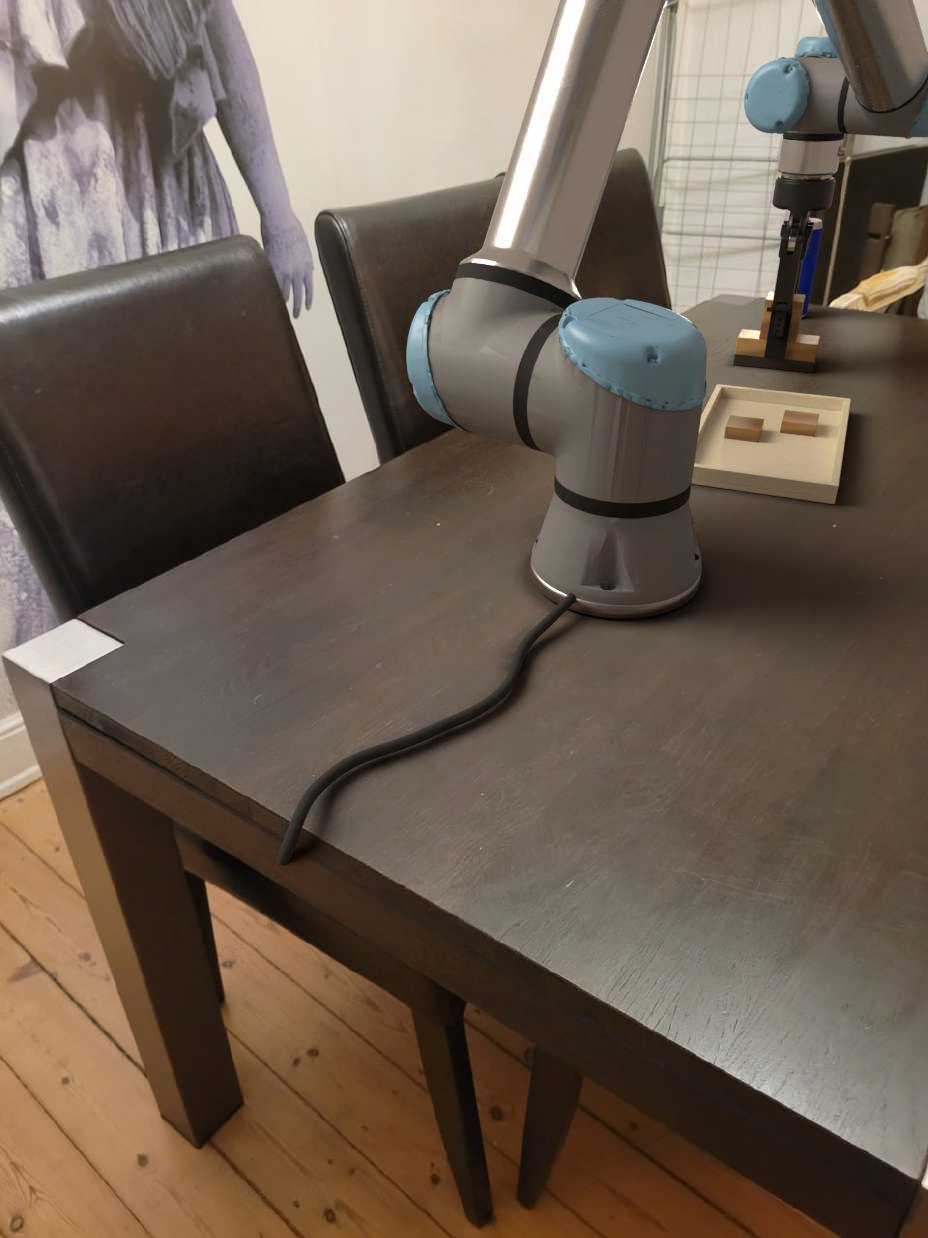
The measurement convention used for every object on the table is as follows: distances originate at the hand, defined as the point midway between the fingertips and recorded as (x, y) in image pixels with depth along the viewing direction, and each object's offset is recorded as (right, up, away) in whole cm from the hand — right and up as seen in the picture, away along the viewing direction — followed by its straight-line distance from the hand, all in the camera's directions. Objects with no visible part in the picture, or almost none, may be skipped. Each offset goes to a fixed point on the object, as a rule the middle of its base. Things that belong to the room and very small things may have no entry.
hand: (776, 352), depth 133 cm
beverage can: (+10, +13, +23) cm, 28 cm away
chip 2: (-5, -16, -22) cm, 27 cm away
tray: (-9, -18, -24) cm, 32 cm away
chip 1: (-12, -16, -23) cm, 30 cm away
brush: (0, -1, +1) cm, 2 cm away
